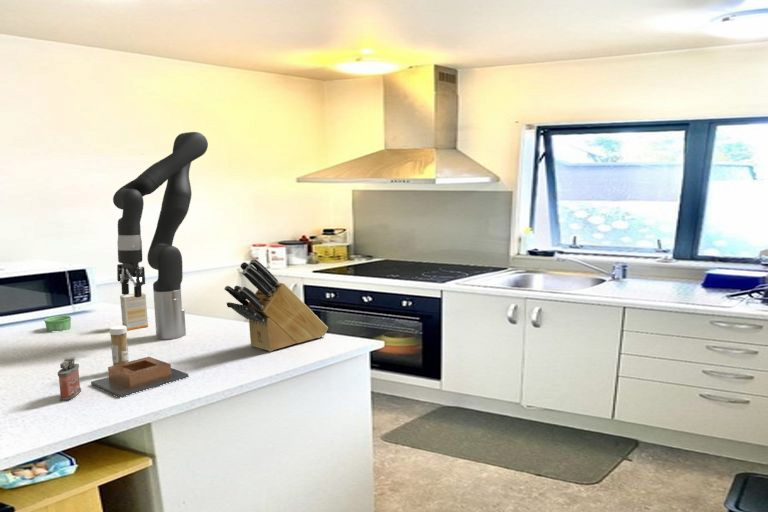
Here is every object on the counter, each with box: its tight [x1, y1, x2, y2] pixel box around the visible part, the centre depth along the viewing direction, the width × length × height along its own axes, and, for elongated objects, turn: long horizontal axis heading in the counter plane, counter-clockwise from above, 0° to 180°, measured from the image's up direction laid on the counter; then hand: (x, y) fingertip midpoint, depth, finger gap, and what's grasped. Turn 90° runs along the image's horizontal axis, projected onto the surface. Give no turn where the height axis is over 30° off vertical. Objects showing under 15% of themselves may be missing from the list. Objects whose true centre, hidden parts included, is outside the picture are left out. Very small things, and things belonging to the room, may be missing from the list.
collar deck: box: [90, 356, 189, 399], centre depth 161 cm, size 20×16×4 cm
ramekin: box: [44, 315, 72, 332], centre depth 221 cm, size 9×9×4 cm
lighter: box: [57, 357, 82, 402], centre depth 150 cm, size 8×3×10 cm, turn 5°
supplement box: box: [119, 292, 149, 331], centre depth 221 cm, size 8×5×13 cm, turn 132°
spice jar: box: [109, 324, 130, 366], centre depth 169 cm, size 5×5×14 cm
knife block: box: [223, 258, 329, 352], centre depth 194 cm, size 11×35×31 cm, turn 137°
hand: (131, 295), depth 196 cm, fingers open, 8 cm apart
